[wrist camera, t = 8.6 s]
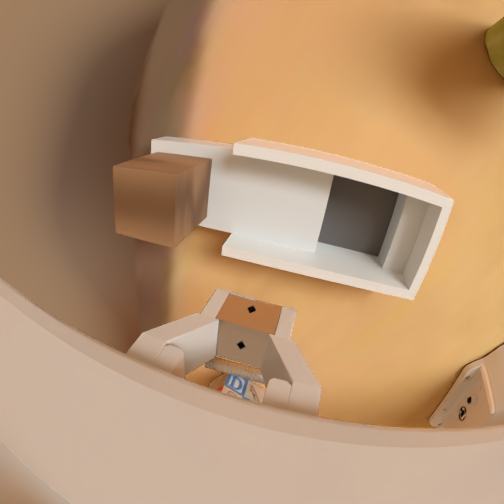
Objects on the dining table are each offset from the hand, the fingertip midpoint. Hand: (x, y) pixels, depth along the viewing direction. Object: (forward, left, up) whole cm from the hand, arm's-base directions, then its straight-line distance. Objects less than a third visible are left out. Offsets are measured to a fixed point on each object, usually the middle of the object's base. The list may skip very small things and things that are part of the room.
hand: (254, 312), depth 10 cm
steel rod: (-23, -1, -16) cm, 28 cm away
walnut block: (0, +9, -13) cm, 16 cm away
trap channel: (0, 0, -15) cm, 15 cm away
